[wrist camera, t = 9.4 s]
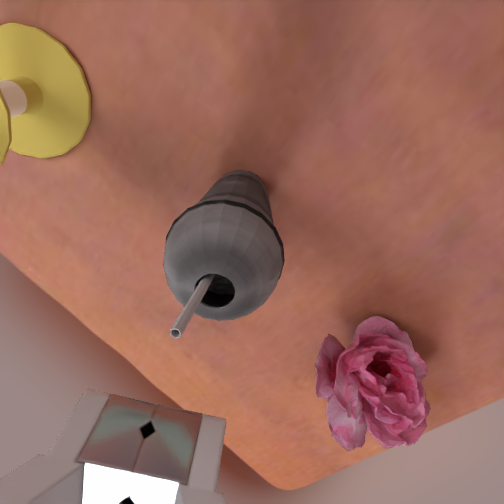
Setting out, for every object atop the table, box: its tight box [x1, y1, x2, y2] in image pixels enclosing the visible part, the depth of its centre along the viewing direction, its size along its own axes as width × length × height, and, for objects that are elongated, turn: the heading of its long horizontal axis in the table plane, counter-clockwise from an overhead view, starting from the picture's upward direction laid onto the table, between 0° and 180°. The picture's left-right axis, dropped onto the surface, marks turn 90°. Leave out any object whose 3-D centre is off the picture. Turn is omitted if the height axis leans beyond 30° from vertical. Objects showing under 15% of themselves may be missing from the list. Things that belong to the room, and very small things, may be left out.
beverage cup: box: [163, 170, 285, 339], centre depth 26 cm, size 7×7×20 cm
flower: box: [315, 316, 431, 451], centre depth 38 cm, size 11×10×10 cm
